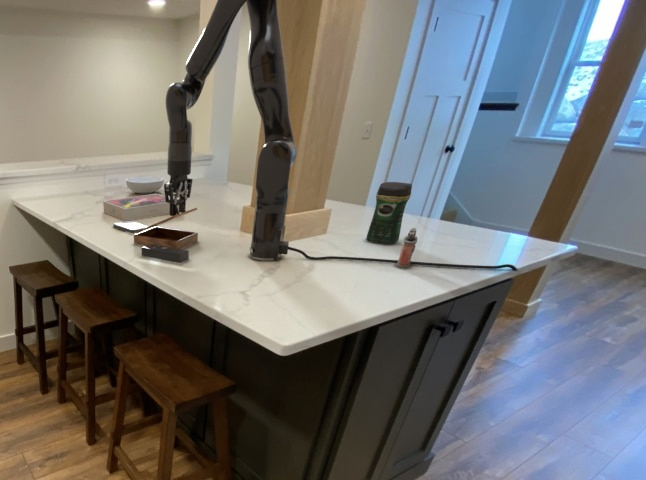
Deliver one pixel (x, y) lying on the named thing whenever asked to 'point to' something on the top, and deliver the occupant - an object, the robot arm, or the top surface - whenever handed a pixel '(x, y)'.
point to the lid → (179, 201)
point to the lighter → (407, 249)
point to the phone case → (129, 226)
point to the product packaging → (137, 207)
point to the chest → (166, 237)
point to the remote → (165, 253)
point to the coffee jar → (389, 212)
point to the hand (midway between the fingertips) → (177, 213)
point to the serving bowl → (144, 184)
